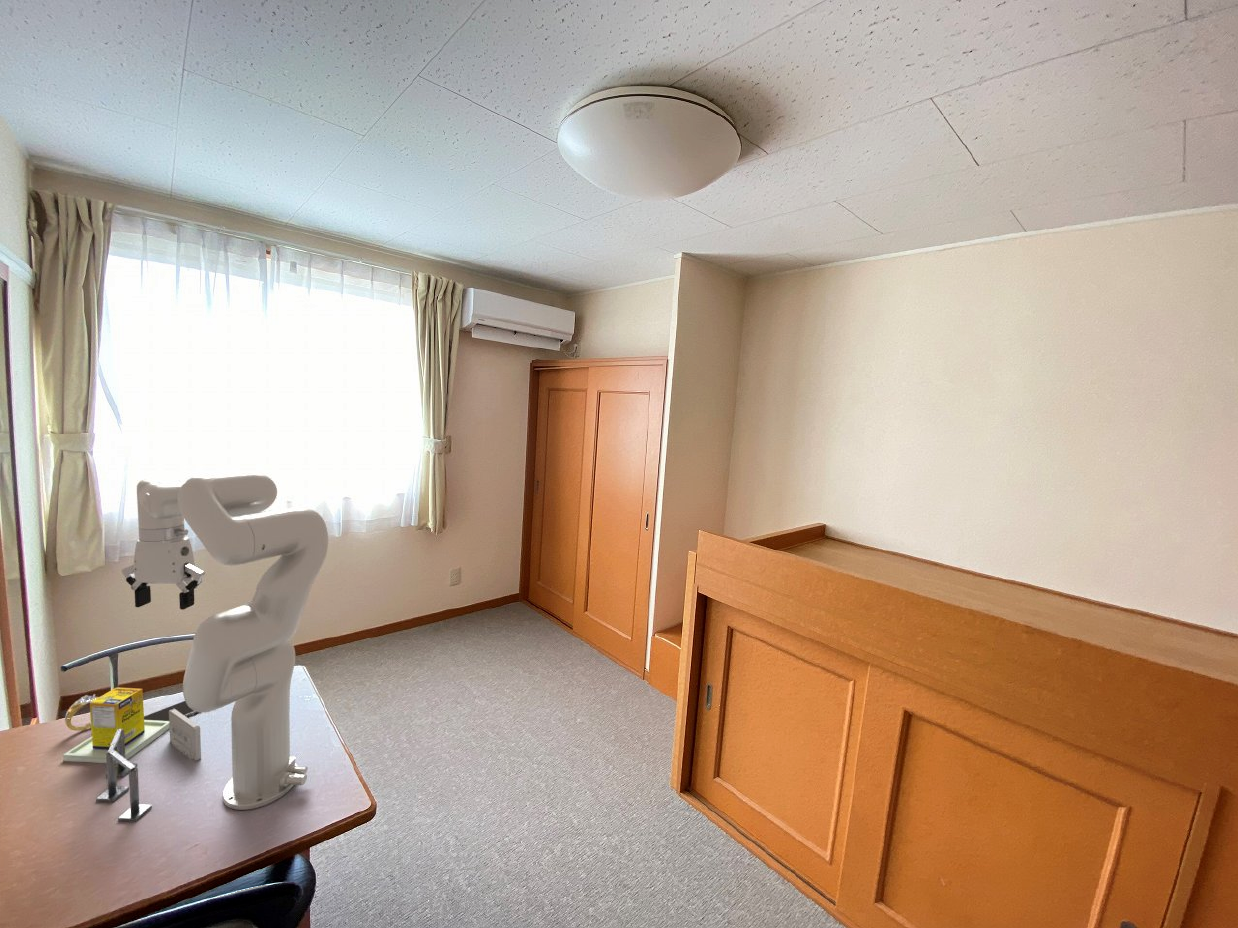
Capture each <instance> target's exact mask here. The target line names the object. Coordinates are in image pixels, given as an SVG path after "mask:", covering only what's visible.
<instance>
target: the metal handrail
mask: <svg viewBox="0 0 1238 928" xmlns="http://www.w3.org/2000/svg"><path fill="white" fill-rule="evenodd" d="M116 746H117V752H116V751H114V750H115V748H116ZM106 760H107V763H106V775H105V776H106V777H107V789H106V790H105V791H104V792H102V793H101V794H100V795H98V797H96V798H95V801H96V802H101V803H102V802H103V803H106V802H107V803H114V802H115V801H117V800H118V799H119V798H120V797H122V796H123V795H124V794H125V793H127V792H128V791H129V808H128V809H127V810H126V811H124V812H123V813H122V814H121V815H120V816H119V817H118V818H117V821H118V822H135V823H136V822H138V821H139V819H141V818H142V817H143V816H144V815H145V814H147V812H149V811H150V810H151V809H152V808H153V805H152V804H146V803H145V804H144V803H143V804H142V803H140V790H139V789H140V788H139V769H138V763H134V762H133V763H132V762H131V761H129V759H128V760H126V757H125V738H124V730H122V729H118V730H117V732H116V734H115V736H114V739H113V741H112V743H111V745H110V748H109V750H108V753H107V754H106ZM116 761H117V764H116ZM126 775H128V784H129V785H128V786H125V785H118V783H117V780H118V779H117V778H124V777H125V776H126Z"/></svg>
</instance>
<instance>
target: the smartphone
mask: <svg viewBox="0 0 1238 928" xmlns="http://www.w3.org/2000/svg"><path fill="white" fill-rule="evenodd" d="M171 709H176V710H177V711H178V712H180V713H181V714H183V715H184V716H186V717H187V718H189V717H191V716H194V715H196V714H200V712H196V711H194V710H192V709H191V708H190V707H189V706H188V705H187V704H186V702H185V700H183V701H181V702H178V703H176V704H173V705H170V706H168V707H165V708H163V709H160V710H157V711H154V712H152V713H150V714H147V715H144V720H156V721H169V710H171Z"/></svg>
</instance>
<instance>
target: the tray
mask: <svg viewBox="0 0 1238 928" xmlns="http://www.w3.org/2000/svg"><path fill="white" fill-rule="evenodd" d="M144 727H145V732H144V733H143V734H142V735H141V736H139V737H138V738H136V739H135V740H133V741H132V742H131V743H129V744H128V745H126V746H125V757H126V760H128V761H129V759H130V758H132V757H133V756H134V755H136V754H138V753H139V751H141V750H142V749H144V748H145V747H146V746H148V745H149V744H151V743H152V742H154V741H155V740H156V739H158V737H160V736H161V735H163V734H164V733H166V732H167V731H168V730H170V728H169V721H156V720H144ZM108 750H109V749H93V745H92V735H91V736H90V737H89V738H86V739H85V740H83V741H82V742H81V743H79V744H77V745H75V746H74V747H72V749H71V748H70V750H68V751H67V752H65V753H63V754H62V761H64V762H73V763H74V762H77V763H94V764H95V763H96V764H97V763H98V764H99V763H100V764H107V760H106V754H107V753H108ZM114 751H116V752H117V750H114ZM116 765H118V764H117V761H116Z"/></svg>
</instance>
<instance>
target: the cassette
mask: <svg viewBox="0 0 1238 928" xmlns="http://www.w3.org/2000/svg"><path fill="white" fill-rule="evenodd" d="M201 740H202V739H201V727H200V725H199V724H197V723H196V722H194V720H192V719H190V718H189V717H186V716H184V715H183V714H181V713H180V712H178V711H177V710H176V709H171V710H169V741H170V742H171V745H172V747H174V748H175V749H177V750H178V751H179V752H181V753H182V754H183V755H184V756H185V757H187V758H188V759H189V760H191V759H193V760H194V761H199V760H200V759H202V750H201V748H202V747H201V746H202V745H201V744H202V743H201Z"/></svg>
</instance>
